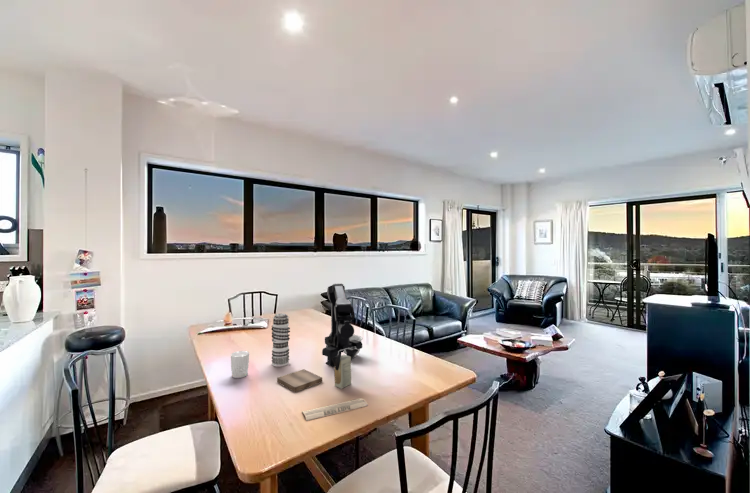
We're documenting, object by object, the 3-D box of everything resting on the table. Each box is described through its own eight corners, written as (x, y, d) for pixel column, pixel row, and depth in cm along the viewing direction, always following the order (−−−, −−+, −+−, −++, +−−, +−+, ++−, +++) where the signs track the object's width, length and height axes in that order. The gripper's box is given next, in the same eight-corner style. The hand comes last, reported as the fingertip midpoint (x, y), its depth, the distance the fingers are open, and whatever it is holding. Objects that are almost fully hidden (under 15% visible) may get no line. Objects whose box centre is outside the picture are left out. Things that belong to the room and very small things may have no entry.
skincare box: (344, 381, 144) (344, 354, 144) (351, 384, 141) (351, 356, 141) (333, 386, 139) (334, 357, 139) (340, 389, 136) (341, 360, 136)
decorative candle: (266, 364, 163) (267, 315, 163) (280, 359, 171) (280, 311, 171) (280, 368, 158) (281, 317, 158) (293, 362, 166) (294, 313, 166)
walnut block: (303, 374, 152) (303, 369, 152) (322, 383, 143) (322, 377, 143) (277, 383, 142) (277, 377, 142) (294, 393, 133) (295, 387, 133)
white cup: (229, 379, 144) (229, 357, 144) (231, 372, 152) (232, 351, 152) (247, 377, 146) (248, 355, 146) (249, 371, 154) (250, 350, 154)
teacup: (364, 351, 185) (364, 334, 185) (360, 360, 170) (361, 341, 170) (343, 350, 186) (343, 333, 186) (338, 359, 171) (338, 340, 171)
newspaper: (360, 401, 127) (361, 396, 127) (368, 409, 121) (369, 404, 121) (301, 414, 116) (301, 410, 116) (307, 424, 110) (307, 419, 110)
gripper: (346, 324, 152) (346, 358, 152) (314, 332, 138) (313, 368, 138) (363, 329, 144) (362, 364, 144) (331, 337, 131) (330, 376, 131)
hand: (342, 367), depth 140 cm, fingers closed on skincare box, 6 cm apart
